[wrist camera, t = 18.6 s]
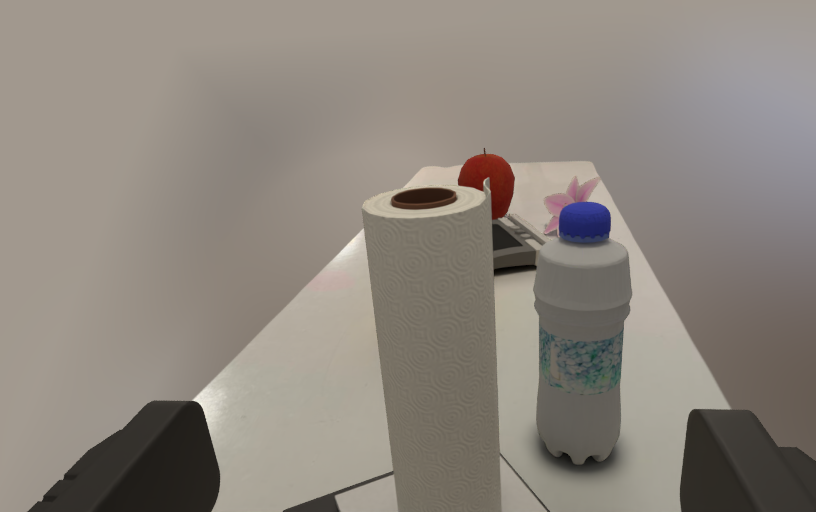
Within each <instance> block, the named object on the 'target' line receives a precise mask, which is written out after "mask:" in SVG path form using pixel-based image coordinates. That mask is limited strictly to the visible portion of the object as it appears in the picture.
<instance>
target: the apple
mask: <svg viewBox="0 0 816 512" xmlns="http://www.w3.org/2000/svg"><path fill="white" fill-rule="evenodd" d="M488 177H489V180H490V191H491V211H492V220H496V219H498V218H502V217H503V216H504V215H505V214H506V213H507V212H508V209H509V206H510V203H511V200H512V197H513V191H514V180H515V177H514V174H513V172H512V169H511V167H510V165H509V164H508V163H507V162H506V161H505V160H504V159H503V158H502V157H499V156H496V155H494V154H485V148H484V154H481V155H477V156H474V157H472V158H470V159H468V160H467V161H466V163H465V164H464V165H463V167H462V168H461V171H460V175H459V178H458V186H464V187H471V188H475V189H477V190H480V191H482V192H484V187H483V184H484V180H485V179H487V178H488Z"/></svg>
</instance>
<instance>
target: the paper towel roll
mask: <svg viewBox="0 0 816 512" xmlns="http://www.w3.org/2000/svg"><path fill="white" fill-rule="evenodd" d="M483 187H484V192H482V191H480V190H477V189H475V188H471V187H464V186H457V185H429V186H416V187H409V188H403V189H397V190H392V191H389V192H385V193H382V194H379V195H376V196H374V197H372V198H370V199H368V200H367V201H365V203H364V205H363V207H362V214H363V223H364V232H365V240H366V248H367V256H368V265H369V273H370V281H371V289H372V298H373V306H374V314H375V322H376V331H377V339H378V347H379V356H380V364H381V372H382V380H383V389H384V397H385V405H386V413H387V422H388V430H389V438H390V446H391V455H392V463H393V471H394V479H395V488H396V496H397V504H398V512H502V507H501V477H500V448H499V418H498V389H497V359H496V330H495V300H494V271H493V241H492V211H491V191H490V180H489V177H488V178H487V179H485V180H484V184H483Z"/></svg>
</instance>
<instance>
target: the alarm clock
mask: <svg viewBox="0 0 816 512" xmlns="http://www.w3.org/2000/svg"><path fill="white" fill-rule="evenodd" d="M492 241H493V269H497V268H502V267H510V266H518V265H533V264H534V265H535V266H537V263H538V256H539V251H540V249H541V247H542V246H543V245H544V244H545V243H547V242H548V241H551V239H549V238H548V237H547V236H545V235H544V234H543V233H541V232H540V231H538V230H537V229H536V228H534V227H533V226H532V225H530V224H529V223H527V222H526V221H525V220H523V219H522V218H521V217H519V216H518V215H516V214H509V219H507V218H498V219H496V220H492Z"/></svg>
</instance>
